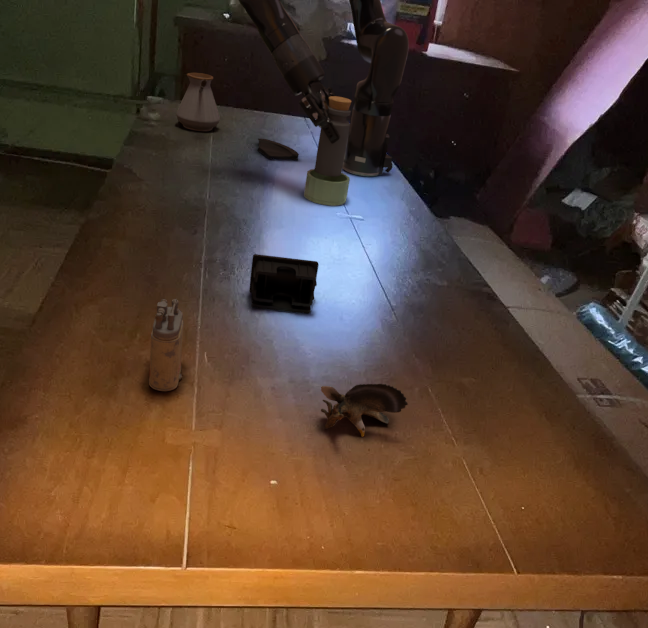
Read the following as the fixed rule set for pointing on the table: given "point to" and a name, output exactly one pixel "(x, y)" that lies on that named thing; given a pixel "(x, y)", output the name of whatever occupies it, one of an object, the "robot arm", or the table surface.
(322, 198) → the holder
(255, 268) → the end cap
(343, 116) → the bottle
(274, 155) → the dark sector wedge
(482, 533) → the table surface
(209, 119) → the coffee pot
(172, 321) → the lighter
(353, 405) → the dark toy animal
